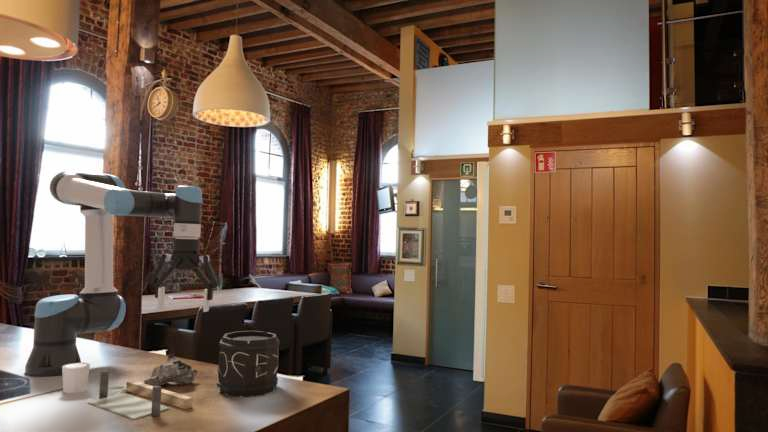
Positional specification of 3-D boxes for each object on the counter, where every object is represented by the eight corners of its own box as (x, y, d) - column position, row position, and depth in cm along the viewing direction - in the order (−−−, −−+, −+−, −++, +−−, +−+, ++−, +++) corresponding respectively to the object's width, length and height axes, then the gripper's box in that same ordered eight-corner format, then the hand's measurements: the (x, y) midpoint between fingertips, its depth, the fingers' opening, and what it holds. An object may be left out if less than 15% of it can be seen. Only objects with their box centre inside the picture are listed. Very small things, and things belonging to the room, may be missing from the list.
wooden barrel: (222, 401, 147) (225, 343, 148) (210, 384, 163) (213, 331, 163) (287, 394, 155) (289, 339, 156) (269, 379, 171) (271, 328, 172)
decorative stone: (149, 391, 151) (149, 355, 153) (136, 392, 157) (136, 357, 160) (203, 384, 162) (202, 350, 165) (189, 385, 168) (188, 352, 171)
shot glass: (94, 388, 155) (95, 363, 155) (73, 395, 148) (74, 369, 148) (76, 385, 157) (77, 361, 157) (54, 391, 150) (56, 366, 151)
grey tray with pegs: (81, 401, 143) (83, 374, 143) (132, 389, 155) (133, 364, 156) (140, 422, 129) (142, 392, 129) (191, 407, 141) (193, 380, 142)
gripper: (139, 236, 157) (135, 310, 157) (224, 239, 157) (221, 313, 156) (151, 236, 165) (147, 307, 164) (232, 239, 164) (229, 310, 163)
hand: (183, 310), depth 160 cm, fingers open, 13 cm apart
